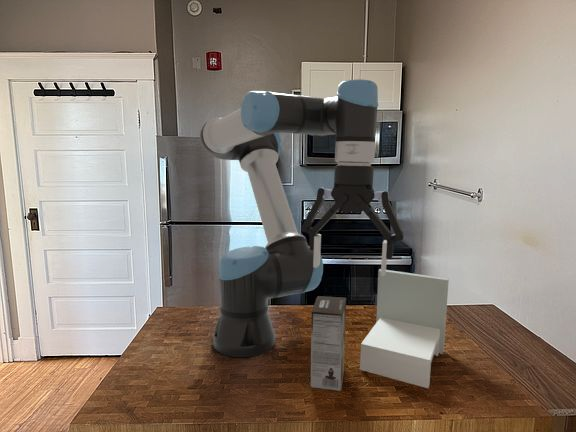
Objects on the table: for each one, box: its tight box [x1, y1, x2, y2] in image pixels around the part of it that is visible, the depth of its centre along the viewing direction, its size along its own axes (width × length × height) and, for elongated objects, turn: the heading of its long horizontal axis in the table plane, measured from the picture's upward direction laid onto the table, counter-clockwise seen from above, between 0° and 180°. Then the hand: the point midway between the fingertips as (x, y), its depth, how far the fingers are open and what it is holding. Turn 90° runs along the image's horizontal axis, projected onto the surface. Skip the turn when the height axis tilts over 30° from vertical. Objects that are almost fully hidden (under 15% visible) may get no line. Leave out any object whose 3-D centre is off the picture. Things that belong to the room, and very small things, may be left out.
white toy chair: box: [359, 268, 450, 389], centre depth 84 cm, size 16×18×18 cm
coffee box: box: [310, 295, 347, 392], centre depth 77 cm, size 9×6×16 cm
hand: (349, 269), depth 76 cm, fingers open, 13 cm apart
